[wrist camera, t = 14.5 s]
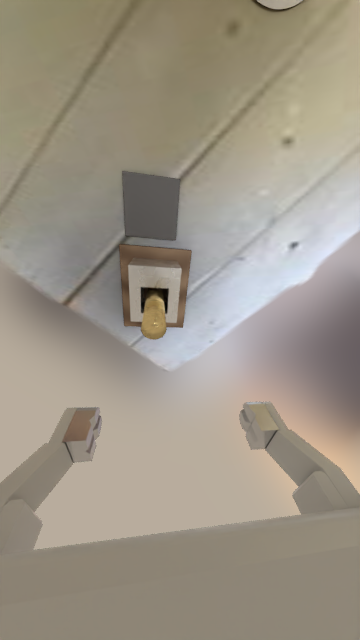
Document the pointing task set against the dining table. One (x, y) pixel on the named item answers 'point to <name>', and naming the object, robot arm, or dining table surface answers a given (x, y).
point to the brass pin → (154, 314)
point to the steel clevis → (154, 285)
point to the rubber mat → (150, 205)
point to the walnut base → (147, 253)
